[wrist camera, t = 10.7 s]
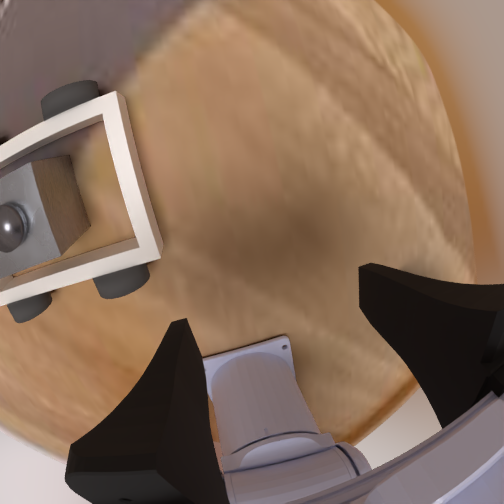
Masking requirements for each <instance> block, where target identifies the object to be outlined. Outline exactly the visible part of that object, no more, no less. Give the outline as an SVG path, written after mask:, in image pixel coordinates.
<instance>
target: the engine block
mask: <svg viewBox="0 0 504 504" xmlns="http://www.w3.org/2000/svg"><path fill="white" fill-rule="evenodd" d="M90 226H91V225H90V222H89V219H88V216H87V213H86V210H85V207H84V204H83V201H82V198H81V195H80V191H79V188H78V185H77V181H76V178H75V174H74V171H73V167H72V163H71V159H70V155H66V156H60V157H55V158H49V159H44V160H38V161H33V162H30V163H28V164H26V165H24V166H22V167H20V168H18V169H17V170H15V171H13V172H11V173H9V174H8V175H6V176H4V177H3V178H1V179H0V279H1V278H4V277H6V276H9V275H11V274H14V273H17V272H19V271H22V270H24V269H27V268H30V267H32V266H35V265H38V264H40V263H43V262H46V261H49V260H51V259H54V258H57V257H60V256H62V255H63V254H64V253H65V251H66V250H67V249H68V248H69V247H70V246H71V245H72V244H73V243H74V242H75V241H76V240H77V239H78V238H79V237H80V236H81V235H82V234H83V233H84V232H85V231H86V230H87V229H88V228H89V227H90Z"/></svg>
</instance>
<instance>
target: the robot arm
mask: <svg viewBox="0 0 504 504" xmlns="http://www.w3.org/2000/svg"><path fill="white" fill-rule="evenodd" d="M359 307H360V309H361V310H362V312H363V313H364V315H365V316H366V318H367V319H368V321H369V322H370V324H371V325H372V326H373V327H374V328H375V329H376V330H377V332H378V333H379V334H380V335H381V336H382V337H383V338H384V339H385V340H386V341H387V343H388V344H389V345H390V346H391V347H392V348H393V349H394V350H395V351H396V353H397V354H398V355H399V356H400V357H401V358H402V360H403V361H404V362H405V363H406V365H407V366H408V368H409V369H410V371H411V372H412V374H413V375H414V377H415V378H416V380H417V381H418V383H419V385H420V386H421V388H422V389H423V391H424V393H425V394H426V396H427V398H428V400H429V402H430V404H431V406H432V408H433V410H434V412H435V414H436V415H437V418H438V420H439V422H440V425H441V427H442V430H440V431H439V432H437V433H436V434H434V435H433V436H431V437H430V438H429V439H427V440H425V441H424V442H422V443H420V444H419V445H417V446H415V447H414V448H412V449H410V450H409V451H407V452H405V453H403V454H402V455H400V456H398V457H396V458H394V459H393V460H391V461H389V462H387V463H385V464H383V465H381V466H379V467H377V468H375V469H373V470H372V469H371V467H370V465H369V463H368V461H367V459H366V458H365V456H364V455H363V454H362V453H361V452H360V451H359V450H358V449H357V448H355V447H353V446H352V445H350V444H349V443H347V442H338V443H335V442H334V440H333V438H332V436H331V434H330V433H329V432H328V433H324V434H321V433H320V431H319V428H318V426H317V424H316V422H315V420H314V418H313V416H312V414H311V412H310V410H309V408H308V406H307V403H306V401H305V399H304V397H303V395H302V393H301V391H300V389H299V387H298V385H297V382H296V376H295V370H294V364H293V358H292V352H291V346H290V340H289V338H288V337H287V336H280V337H277V338H274V339H271V340H267V341H264V342H261V343H258V344H254V345H251V346H247V347H244V348H240V349H237V350H233V351H229V352H226V353H222V354H218V355H214V356H210V357H207V358H203V359H202V355H201V353H200V350H199V348H198V346H197V343H196V341H195V338H194V336H193V333H192V331H191V328H190V326H189V323H188V321H187V318H185V319H181V320H177V321H173V322H171V324H170V326H169V328H168V330H167V332H166V334H165V336H164V338H163V340H162V342H161V344H160V346H159V347H158V349H157V351H156V353H155V355H154V357H153V359H152V360H151V362H150V364H149V365H148V367H147V369H146V370H145V372H144V374H143V375H142V376H141V378H140V379H139V381H138V382H137V383H136V385H135V386H134V387H133V389H132V390H131V391H130V393H129V394H128V395H127V396H126V397H125V398H124V399H123V400H122V402H121V403H120V404H119V405H118V406H117V407H116V408H115V409H114V410H113V411H112V412H111V413H110V414H109V415H108V416H107V417H106V418H105V419H104V420H103V421H102V422H100V423H99V424H98V425H97V426H96V427H95V428H93V429H92V430H91V431H89V432H88V433H87V434H85V435H84V436H83V437H81V438H80V439H78V440H77V441H76V442H74V443H73V444H71V446H70V450H69V455H68V461H67V467H66V472H65V482H66V483H67V485H68V486H69V487H70V489H72V490H73V491H74V492H75V493H77V494H78V495H80V496H81V497H83V498H84V499H86V500H88V501H89V502H91V503H92V504H504V284H494V285H476V284H461V283H453V282H447V281H441V280H436V279H431V278H427V277H423V276H419V275H415V274H411V273H408V272H404V271H401V270H397V269H394V268H390V267H387V266H383V265H379V264H374V263H369V264H366V265H363V266H360V267H359ZM283 345H286V346H284V347H282V346H283ZM204 368H205V369H204ZM207 392H208V394H209V396H210V398H211V400H212V402H213V405H214V411H215V416H216V422H217V428H218V433H219V439H220V444H221V449H222V455H223V456H222V457H221V462H222V467H223V472H224V474H222V471H221V470H220V469H219V465H218V461H217V457H216V453H215V448H214V444H213V439H212V435H211V428H210V420H209V408H208V394H207Z"/></svg>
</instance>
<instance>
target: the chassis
mask: <svg viewBox="0 0 504 504" xmlns="http://www.w3.org/2000/svg"><path fill="white" fill-rule="evenodd" d="M41 106H42V113H43V118H44V122H42V123H40V124H38V125H36V126H34V127H32V128H30V129H28V130H26V131H25V132H23V133H21V134H19V135H17V136H16V137H14V138H12V139H11V140H9V141H7V142H6V143H4V144H2V145H1V146H0V169H1V168H3V167H5V166H7V165H8V164H10V163H12V162H14V161H15V160H17V159H19V158H21V157H23V156H25V155H27V154H28V153H30V152H32V151H34V150H36V149H38V148H40V147H42V146H44V145H46V144H48V143H51V142H53V141H55V140H57V139H59V138H61V137H64V136H66V135H68V134H70V133H73V132H75V131H77V130H80V129H82V128H85V127H87V126H90V125H92V124H95V123H97V122H100V121H103V120H104V124H105V128H106V133H107V137H108V141H109V145H110V150H111V154H112V157H113V161H114V165H115V169H116V173H117V176H118V180H119V183H120V187H121V190H122V194H123V197H124V201H125V204H126V207H127V210H128V214H129V217H130V220H131V223H132V226H133V229H134V232H135V235H136V237H135V238H131V239H128V240H125V241H121V242H118V243H115V244H112V245H109V246H105V247H102V248H99V249H96V250H93V251H90V252H87V253H84V254H81V255H78V256H74V257H71V258H68V259H66V260H63V261H60V262H57V263H54V264H51V265H48V266H45V267H42V268H39V269H37V270H34V271H31V272H28V273H25V274H23V275H20V276H17V277H14V278H13V276H12V274H11V275H9V276H6V277H4V278H1V279H0V306H3V305H6V304H7V307H8V309H9V311H10V313H11V314H12V316H13V318H14V320H15V321H16V322H17V323H23V322H26V321H29V320H31V319H33V318H35V317H36V316H38V315H39V314H41V313H42V312H43V311H44V310H46V309H47V308H48V306H49V305H50V304H51V302H52V297H51V295H50V293H49V291H51V290H54V289H58V288H61V287H64V286H68V285H71V284H74V283H78V282H81V281H84V280H88V279H91V278H93V281H94V283H95V285H96V287H97V290H98V292H99V294H100V296H101V297H102V298H105V299H113V298H119V297H122V296H125V295H127V294H130V293H132V292H134V291H136V290H137V289H139V288H140V287H142V286H143V285H144V284H145V283H146V282H147V281H148V279H149V277H150V273H149V270H148V267H147V265H146V263H147V262H150V261H154V260H157V259H161V255H162V250H163V245H164V244H163V241H162V237H161V234H160V231H159V228H158V225H157V221H156V218H155V215H154V211H153V208H152V205H151V201H150V198H149V194H148V191H147V187H146V183H145V180H144V176H143V172H142V169H141V165H140V161H139V157H138V153H137V149H136V145H135V141H134V137H133V132H132V128H131V124H130V119H129V115H128V110H127V105H126V100H125V97H124V96H122V95H121V94H120V93H118V92H117V91H114V92H111V93H108V94H106V95H103V96H99V91H98V85H97V82H96V81H92V80H86V81H79V82H74V83H71V84H68V85H65V86H62V87H60V88H58V89H56V90H54V91H52V92H50V93H49V94H47V95H46V96H45V97H44V98H43V99H42V100H41Z"/></svg>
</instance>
